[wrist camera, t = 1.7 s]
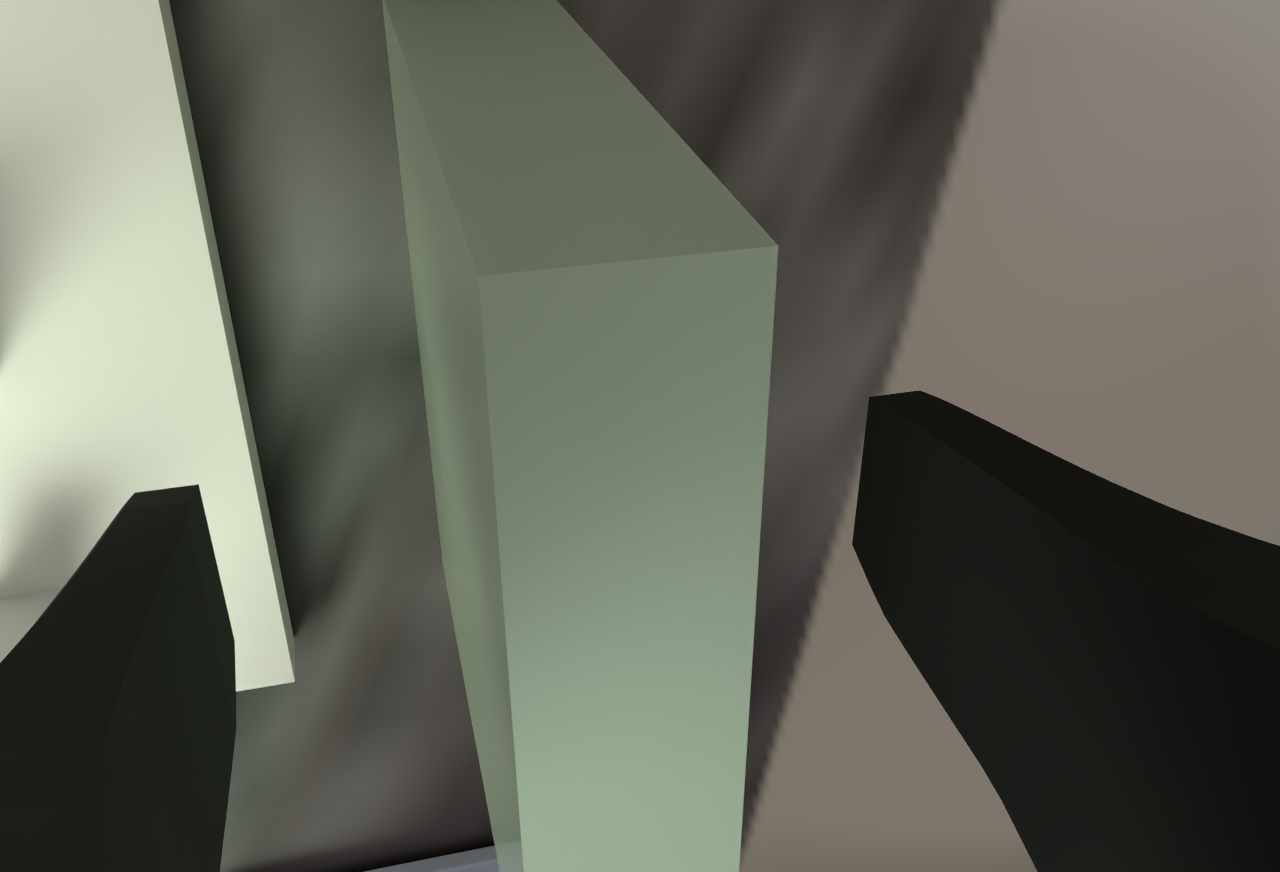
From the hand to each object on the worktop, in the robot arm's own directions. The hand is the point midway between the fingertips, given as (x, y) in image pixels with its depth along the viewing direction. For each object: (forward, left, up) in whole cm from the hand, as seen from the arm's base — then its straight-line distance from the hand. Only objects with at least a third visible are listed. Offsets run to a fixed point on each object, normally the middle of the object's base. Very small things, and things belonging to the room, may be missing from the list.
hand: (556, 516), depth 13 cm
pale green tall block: (0, 0, -6) cm, 6 cm away
